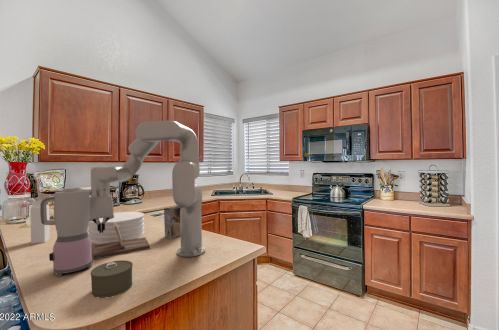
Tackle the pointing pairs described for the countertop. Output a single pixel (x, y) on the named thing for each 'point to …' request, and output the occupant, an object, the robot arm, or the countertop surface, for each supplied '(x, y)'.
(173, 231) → the coffee box
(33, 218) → the milk
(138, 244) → the walnut board
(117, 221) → the plate stack
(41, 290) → the countertop surface
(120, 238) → the tile
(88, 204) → the blender
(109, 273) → the can
